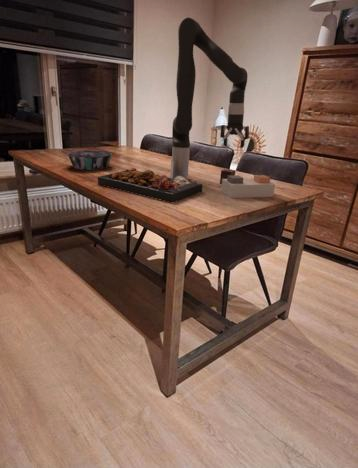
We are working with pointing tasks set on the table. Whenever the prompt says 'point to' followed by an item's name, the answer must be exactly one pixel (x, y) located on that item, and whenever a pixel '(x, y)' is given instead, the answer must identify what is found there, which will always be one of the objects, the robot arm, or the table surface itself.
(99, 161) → the decorative bowl
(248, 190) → the key panel
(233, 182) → the charcoal key
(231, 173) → the box
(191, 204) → the table surface
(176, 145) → the robot arm
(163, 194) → the food platter
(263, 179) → the terracotta key
